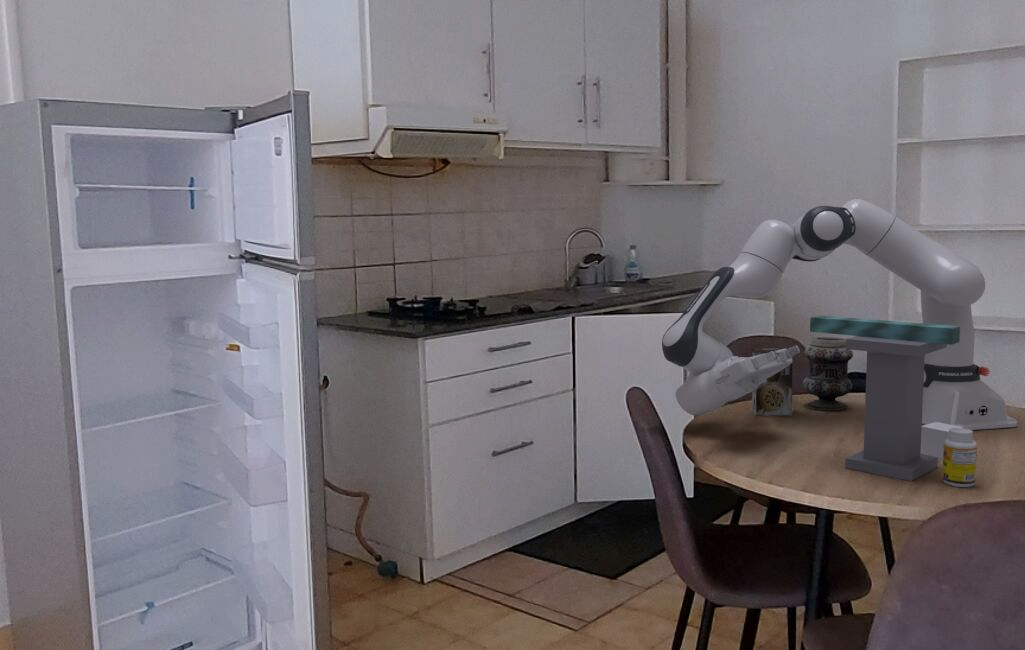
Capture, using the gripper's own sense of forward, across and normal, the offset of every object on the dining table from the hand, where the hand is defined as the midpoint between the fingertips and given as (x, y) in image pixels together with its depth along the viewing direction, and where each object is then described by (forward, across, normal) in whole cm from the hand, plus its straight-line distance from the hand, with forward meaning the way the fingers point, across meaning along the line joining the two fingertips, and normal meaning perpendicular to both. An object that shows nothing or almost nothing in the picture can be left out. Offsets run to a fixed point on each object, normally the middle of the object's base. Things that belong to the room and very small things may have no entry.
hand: (786, 351), depth 196 cm
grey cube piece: (+12, +16, +32) cm, 38 cm away
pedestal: (+10, 0, +30) cm, 31 cm away
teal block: (+20, 0, +6) cm, 21 cm away
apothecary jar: (-20, +43, +13) cm, 49 cm away
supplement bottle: (+21, -2, +37) cm, 42 cm away
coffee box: (-27, +28, +9) cm, 39 cm away
